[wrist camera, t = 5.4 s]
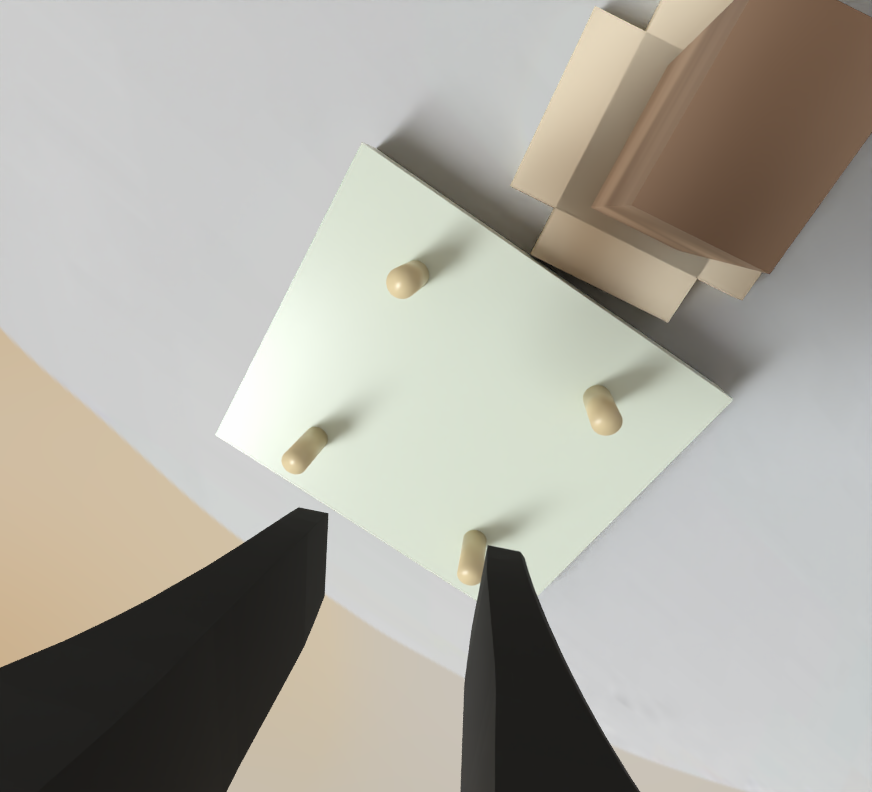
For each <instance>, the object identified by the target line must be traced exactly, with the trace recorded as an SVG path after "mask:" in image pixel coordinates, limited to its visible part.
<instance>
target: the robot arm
mask: <svg viewBox="0 0 872 792" xmlns="http://www.w3.org/2000/svg"><path fill="white" fill-rule="evenodd" d="M327 532H328V513H324V512H319V511H314V510H309V509H304V508H297V509H295V510H294V511H292V512H290V513H289V514H287V515H286V516H284V517H283V518H281V519H280V520H278V521H277V522H275V523H273V524H272V525H270V526H269V527H267V528H266V529H264V530H263V531H261V532H260V533H258V534H257V535H255V536H254V537H252V538H251V539H249V540H247V541H246V542H244V543H243V544H241V545H240V546H239V547H237V548H235V549H233V550H232V551H230V552H229V553H227V554H225V555H224V556H222V557H221V558H219V559H217V560H216V561H214V562H213V563H211V564H210V565H208V566H206V567H205V568H203V569H201V570H199V571H198V572H196V573H194V574H192V575H191V576H189V577H187V578H185V579H184V580H182V581H180V582H179V583H177V584H175V585H173V586H171V587H170V588H168V589H166V590H164V591H163V592H161V593H159V594H157V595H156V596H154V597H152V598H150V599H148V600H147V601H145V602H143V603H141V604H139V605H137V606H135V607H133V608H131V609H129V610H127V611H126V612H124V613H122V614H120V615H118V616H116V617H114V618H111V619H109V620H107V621H105V622H103V623H101V624H99V625H97V626H95V627H93V628H91V629H89V630H86V631H84V632H82V633H80V634H78V635H76V636H74V637H72V638H69V639H67V640H65V641H63V642H60V643H58V644H56V645H53V646H51V647H49V648H46V649H44V650H41V651H39V652H37V653H34V654H32V655H29V656H27V657H25V658H22V659H20V660H17V661H15V662H13V663H10V664H8V665H5V666H3V667H1V668H0V792H227V790H228V787H229V785H230V784H231V782H232V780H233V778H234V776H235V774H236V772H237V769H238V767H239V766H240V764H241V762H242V760H243V758H244V757H245V755H246V753H247V751H248V749H249V747H250V745H251V743H252V742H253V740H254V738H255V736H256V735H257V732H258V730H259V729H260V727H261V725H262V723H263V722H264V720H265V718H266V716H267V714H268V712H269V711H270V709H271V707H272V705H273V703H274V701H275V700H276V698H277V696H278V694H279V692H280V691H281V689H282V687H283V685H284V683H285V681H286V679H287V677H288V676H289V674H290V672H291V670H292V668H293V666H294V665H295V663H296V661H297V659H298V657H299V655H300V653H301V651H302V649H303V648H304V646H305V643H306V641H307V638H308V636H309V634H310V631H311V628H312V626H313V624H314V621H315V619H316V616H317V614H318V611H319V609H320V606H321V603H322V601H323V599H324V595H325V574H326V553H327ZM461 792H640V791H639V790H638V788H637V787H636V785H635V783H634V782H633V780H632V779H631V777H630V776H629V774H628V773H627V771H626V769H625V768H624V766H623V764H622V763H621V761H620V759H619V758H618V756H617V755H616V753H615V751H614V750H613V748H612V746H611V745H610V743H609V741H608V740H607V738H606V736H605V734H604V733H603V731H602V729H601V727H600V726H599V724H598V722H597V720H596V719H595V717H594V715H593V713H592V711H591V710H590V708H589V706H588V704H587V702H586V700H585V698H584V697H583V695H582V693H581V691H580V689H579V687H578V685H577V683H576V681H575V679H574V677H573V675H572V673H571V671H570V669H569V667H568V665H567V663H566V661H565V659H564V657H563V655H562V653H561V651H560V648H559V646H558V644H557V642H556V639H555V637H554V635H553V633H552V631H551V628H550V626H549V624H548V622H547V619H546V617H545V614H544V612H543V610H542V607H541V604H540V602H539V599H538V597H537V594H536V591H535V589H534V586H533V583H532V580H531V577H530V574H529V571H528V568H527V564H526V561H525V557H524V556H523V555H522V553H521V552H520V551H515V550H510V549H505V548H500V547H495V546H490V545H488V546H487V551H486V556H485V561H484V567H483V572H482V577H481V582H480V588H479V593H478V598H477V603H476V608H475V614H474V619H473V624H472V630H471V638H470V645H469V653H468V660H467V668H466V676H465V686H464V712H463V738H462V768H461Z"/></svg>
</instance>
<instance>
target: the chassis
mask: <svg viewBox="0 0 872 792" xmlns="http://www.w3.org/2000/svg"><path fill="white" fill-rule="evenodd" d="M732 401H733V399H732V398H731V397H730V396H729V395H727V394H726V393H725V392H724V391H723V390H722V389H721V388H720V387H718V386H717V385H716V384H715V383H713V382H712V381H711V380H709V379H708V378H706V377H705V376H703V375H702V374H700V373H699V372H698V371H696V370H695V369H693V368H692V367H690V366H689V365H687V364H686V363H685V362H683V361H682V360H680V359H679V358H677V357H676V356H674V355H673V354H672V353H670V352H669V351H667V350H666V349H664V348H663V347H661V346H660V345H659V344H657V343H656V342H654V341H653V340H651V339H650V338H649V337H647V336H646V335H644V334H643V333H641V332H640V331H638V330H637V329H636V328H634V327H633V326H631V325H630V324H628V323H627V322H625V321H624V320H623V319H621V318H620V317H618V316H617V315H615V314H614V313H612V312H611V311H610V310H608V309H607V308H605V307H604V306H602V305H601V304H600V303H598V302H597V301H595V300H594V299H592V298H591V297H589V296H588V295H587V294H585V293H584V292H582V291H581V290H579V289H578V288H576V287H575V286H574V285H572V284H571V283H569V282H568V281H566V280H565V279H563V278H562V277H561V276H559V275H558V274H556V273H555V272H553V271H552V270H551V269H549V268H548V267H546V266H545V265H543V264H542V263H540V262H539V261H538V260H536V259H535V258H533V257H532V256H530V255H529V254H527V253H526V252H525V251H523V250H522V249H520V248H519V247H517V246H516V245H514V244H513V243H512V242H510V241H509V240H507V239H506V238H504V237H503V236H502V235H500V234H499V233H497V232H496V231H494V230H493V229H491V228H490V227H489V226H487V225H486V224H484V223H483V222H481V221H480V220H478V219H477V218H476V217H474V216H473V215H471V214H470V213H468V212H467V211H465V210H464V209H463V208H461V207H460V206H458V205H457V204H455V203H454V202H452V201H451V200H450V199H448V198H447V197H445V196H444V195H442V194H441V193H440V192H438V191H437V190H435V189H434V188H432V187H431V186H429V185H428V184H427V183H425V182H424V181H422V180H421V179H419V178H418V177H416V176H415V175H414V174H412V173H411V172H409V171H408V170H406V169H405V168H403V167H402V166H401V165H399V164H398V163H396V162H395V161H393V160H392V159H391V158H389V157H388V156H386V155H385V154H383V153H382V152H380V151H379V150H378V149H376V148H374V147H372V146H369V145H367V144H365V143H363V142H362V143H361V145H360V147H359V149H358V151H357V153H356V155H355V157H354V159H353V161H352V163H351V165H350V167H349V169H348V171H347V173H346V175H345V177H344V179H343V181H342V183H341V185H340V187H339V189H338V191H337V193H336V195H335V197H334V199H333V201H332V203H331V205H330V207H329V209H328V211H327V213H326V215H325V217H324V219H323V221H322V223H321V225H320V227H319V229H318V231H317V233H316V235H315V237H314V239H313V241H312V243H311V245H310V247H309V249H308V251H307V253H306V255H305V257H304V259H303V261H302V263H301V265H300V267H299V269H298V271H297V273H296V275H295V277H294V279H293V281H292V283H291V285H290V287H289V289H288V291H287V293H286V295H285V297H284V299H283V301H282V303H281V305H280V307H279V309H278V311H277V313H276V315H275V317H274V319H273V321H272V323H271V325H270V327H269V329H268V331H267V333H266V335H265V337H264V339H263V341H262V343H261V345H260V347H259V349H258V351H257V353H256V355H255V357H254V359H253V361H252V363H251V365H250V367H249V369H248V371H247V373H246V375H245V377H244V379H243V381H242V383H241V385H240V387H239V389H238V391H237V393H236V395H235V397H234V399H233V401H232V403H231V405H230V407H229V409H228V411H227V413H226V415H225V417H224V419H223V421H222V423H221V425H220V427H219V429H218V431H217V433H216V436H218V437H219V438H221V439H222V440H224V441H226V442H227V443H229V444H230V445H232V446H233V447H235V448H237V449H238V450H240V451H241V452H243V453H244V454H246V455H248V456H249V457H251V458H252V459H254V460H255V461H257V462H259V463H260V464H262V465H263V466H265V467H266V468H268V469H270V470H271V471H273V472H274V473H276V474H277V475H279V476H281V477H282V478H284V479H285V480H287V481H288V482H290V483H292V484H293V485H295V486H296V487H298V488H299V489H301V490H303V491H304V492H306V493H307V494H309V495H311V496H312V497H314V498H315V499H317V500H318V501H320V502H322V503H323V504H325V505H326V506H328V507H329V508H331V509H333V510H334V511H336V512H337V513H339V514H340V515H342V516H344V517H345V518H347V519H348V520H350V521H351V522H353V523H355V524H356V525H358V526H359V527H361V528H362V529H364V530H366V531H367V532H369V533H370V534H372V535H373V536H375V537H377V538H378V539H380V540H381V541H383V542H384V543H386V544H388V545H389V546H391V547H392V548H394V549H396V550H397V551H399V552H400V553H402V554H403V555H405V556H407V557H408V558H410V559H411V560H413V561H414V562H416V563H418V564H419V565H421V566H422V567H424V568H425V569H427V570H429V571H430V572H432V573H433V574H435V575H436V576H438V577H440V578H441V579H443V580H444V581H446V582H447V583H449V584H451V585H452V586H454V587H455V588H457V589H458V590H460V591H462V592H463V593H465V594H466V595H468V596H469V597H471V598H473V599H474V600H476V601H477V598H478V593H479V588H480V582H481V577H482V572H483V567H484V561H485V556H486V551H487V546H488V545H490V546H495V547H500V548H505V549H510V550H515V551H520V552H521V553H522V555H523V556H524V557H525V561H526V564H527V568H528V571H529V574H530V577H531V580H532V583H533V586H534V589H535V591H536V594H537V596H538V595H539V594H540V593H541V592H542V591H543V590H544V589H545V588H546V587H547V586H548V585H549V584H550V583H551V582H552V581H553V580H554V579H555V578H556V577H557V576H558V575H559V574H560V573H561V572H562V571H563V570H564V569H565V568H566V567H567V566H568V565H569V564H570V563H571V562H572V561H573V560H574V559H575V558H576V557H577V556H578V555H579V554H580V553H581V552H582V551H583V550H584V549H585V548H586V547H587V546H588V545H589V544H590V543H591V542H592V541H593V540H594V539H595V538H596V537H597V536H598V535H599V534H600V533H601V532H602V531H603V530H604V529H605V528H606V527H607V526H608V525H609V524H610V523H611V522H612V521H613V520H614V519H615V518H616V517H617V516H618V515H619V514H620V513H621V512H622V511H623V510H624V509H625V508H626V507H627V506H628V505H629V504H630V503H631V502H632V501H633V500H634V499H635V498H636V497H637V496H638V495H639V494H640V493H641V492H642V491H643V490H644V489H645V488H646V487H647V486H648V485H649V484H650V483H651V482H652V481H653V480H654V479H655V478H656V477H657V476H658V475H659V474H660V473H661V472H662V471H663V470H664V469H665V468H666V467H667V466H668V465H669V464H670V463H671V462H672V461H673V460H674V459H675V458H676V457H677V456H678V455H679V454H680V453H681V452H682V451H683V450H684V449H685V448H686V447H687V446H688V445H689V444H690V443H691V442H692V441H693V440H694V439H695V438H696V437H697V436H698V435H699V434H700V433H701V432H702V431H703V430H704V429H705V428H706V427H707V426H708V425H709V424H710V423H711V422H712V421H713V420H714V419H715V418H716V417H717V416H718V415H719V414H720V413H721V412H722V411H723V410H724V409H725V408H726V407H727V406H728V405H729V404H730V403H731V402H732Z"/></svg>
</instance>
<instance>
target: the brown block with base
mask: <svg viewBox="0 0 872 792" xmlns="http://www.w3.org/2000/svg"><path fill="white" fill-rule="evenodd" d="M871 133H872V17H870V16H868V15H866V14H864V13H862V12H860V11H858V10H856V9H854V8H852V7H850V6H848V5H846V4H844V3H842V2H840V1H838V0H661V1H660V3H659V5H658V6H657V8H656V10H655V12H654V14H653V16H652V18H651V20H650V22H649V24H648V26H647V28H646V30H645V31H644V30H642V29H640V28H638V27H636V26H634V25H632V24H630V23H628V22H626V21H624V20H622V19H620V18H618V17H616V16H614V15H612V14H610V13H608V12H606V11H604V10H602V9H600V8H598V7H596V6H595V7H594V9H593V12H592V14H591V16H590V18H589V20H588V22H587V24H586V26H585V29H584V31H583V33H582V35H581V37H580V39H579V41H578V43H577V45H576V48H575V50H574V52H573V54H572V56H571V58H570V60H569V62H568V64H567V67H566V69H565V71H564V73H563V75H562V77H561V79H560V81H559V84H558V86H557V88H556V90H555V92H554V94H553V96H552V98H551V100H550V103H549V105H548V107H547V109H546V111H545V113H544V115H543V117H542V120H541V122H540V124H539V126H538V128H537V130H536V132H535V134H534V136H533V139H532V141H531V143H530V145H529V147H528V149H527V151H526V153H525V155H524V158H523V160H522V162H521V164H520V166H519V168H518V170H517V172H516V175H515V177H514V179H513V181H512V183H511V185H510V186H511V187H513V188H515V189H517V190H519V191H521V192H523V193H525V194H527V195H529V196H531V197H533V198H535V199H537V200H539V201H541V202H543V203H545V204H547V205H549V206H551V207H553V210H552V212H551V214H550V216H549V218H548V220H547V222H546V224H545V226H544V228H543V230H542V232H541V234H540V236H539V238H538V240H537V241H536V243H535V245H534V247H533V249H532V251H531V255H532V256H534V257H536V258H538V259H540V260H542V261H544V262H546V263H548V264H550V265H552V266H555V267H557V268H559V269H561V270H563V271H565V272H567V273H569V274H571V275H573V276H575V277H577V278H579V279H581V280H583V281H585V282H587V283H589V284H591V285H593V286H595V287H597V288H599V289H601V290H603V291H605V292H607V293H609V294H611V295H613V296H615V297H617V298H619V299H621V300H623V301H625V302H627V303H629V304H631V305H633V306H635V307H637V308H639V309H641V310H643V311H645V312H647V313H650V314H652V315H654V316H656V317H658V318H660V319H662V320H664V321H666V322H669V320H670V319H671V317H672V316H673V314H674V313H675V311H676V310H677V308H678V307H679V305H680V304H681V302H682V301H683V299H684V298H685V296H686V295H687V293H688V292H689V290H690V289H691V287H692V286H693V284H694V283H695V281H696V280H697V279H698V280H700V281H702V282H704V283H706V284H708V285H710V286H712V287H714V288H716V289H718V290H720V291H722V292H724V293H726V294H728V295H730V296H732V297H735V298H737V299H740V300H743V299H744V297H745V296H746V294H747V293H748V292H749V290H750V289H751V287H752V286H753V285H754V283H755V282H756V280H757V279H758V278H759V276H760V275H761V273H762V272H764V273H768V274H770V273H771V272H772V270H773V269H774V267H775V266H776V265H777V263H778V262H779V260H780V259H781V258H782V256H783V255H784V254H785V252H786V251H787V249H788V248H789V247H790V245H791V244H792V242H793V241H794V240H795V238H796V237H797V235H798V234H799V233H800V231H801V230H802V229H803V227H804V226H805V224H806V223H807V222H808V220H809V219H810V217H811V216H812V215H813V213H814V212H815V211H816V209H817V208H818V206H819V205H820V204H821V202H822V201H823V199H824V198H825V197H826V195H827V194H828V192H829V191H830V190H831V188H832V187H833V186H834V184H835V183H836V181H837V180H838V179H839V177H840V176H841V174H842V173H843V172H844V170H845V169H846V168H847V166H848V165H849V163H850V162H851V161H852V159H853V158H854V156H855V155H856V154H857V152H858V151H859V149H860V148H861V147H862V145H863V144H864V143H865V141H866V140H867V138H868V137H869V136H870V134H871Z"/></svg>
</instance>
